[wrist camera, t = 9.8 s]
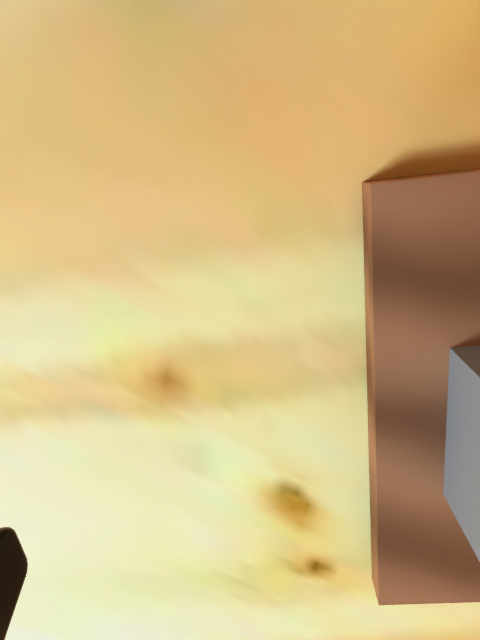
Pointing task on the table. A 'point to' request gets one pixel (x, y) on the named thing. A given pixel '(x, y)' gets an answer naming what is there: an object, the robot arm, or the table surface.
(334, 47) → the table surface
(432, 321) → the shelf board
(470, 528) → the carton
